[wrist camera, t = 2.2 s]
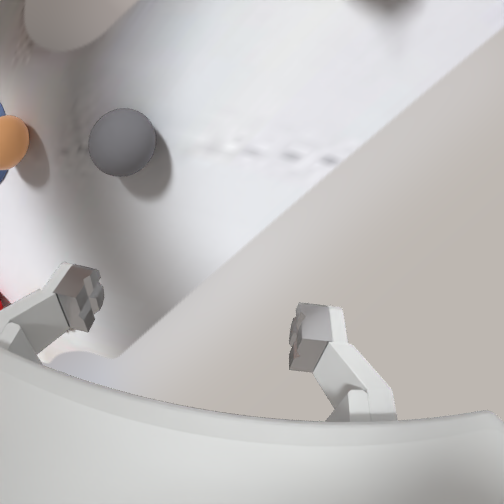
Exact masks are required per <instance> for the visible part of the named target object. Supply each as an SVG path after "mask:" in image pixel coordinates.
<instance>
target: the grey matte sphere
mask: <svg viewBox="0 0 504 504" xmlns="http://www.w3.org/2000/svg"><path fill="white" fill-rule="evenodd" d="M155 145H156V135H155V131H154V128H153V126H152V124H151V122H150V121H149V119H148V118H147V117H146V116H145V115H143V114H142V113H140V112H138V111H136V110H133V109H126V108H124V109H116V110H113V111H111V112H109V113H107V114H105V115H104V116H102V117H101V118H100V119H99V120H98V121H97V122H96V124H95V125H94V127H93V129H92V131H91V133H90V137H89V153H90V156H91V159H92V161H93V162H94V164H95V165H96V166H97V167H98V168H99V169H100V170H101V171H103V172H104V173H106V174H108V175H111V176H118V177H122V176H128V175H132V174H134V173H136V172H138V171H139V170H141V169H142V168H143V167H144V166H145V165H146V164H147V163H148V162H149V160H150V159H151V157H152V155H153V153H154V150H155Z"/></svg>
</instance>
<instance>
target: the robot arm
mask: <svg viewBox="0 0 504 504" xmlns="http://www.w3.org/2000/svg"><path fill="white" fill-rule="evenodd" d="M100 278H101V277H100V273H99V271H98V270H97V269H93V268H89V267H84V266H80V265H76V264H71V263H67V262H64V263H61V264H60V266H59V267H58V268H57V270H56V271H55V272H54V274H53V275H52V276H51V278H50V279H49V281H48V282H47V283H46V285H45V286H44V288H43V289H42V290H41V289H38V290H36V291H34V292H33V293H31V294H29V295H27V296H25V297H23V298H22V299H20V300H18V301H16V302H14V303H13V304H11V305H9V306H7V307H6V308H4V309H2V310H0V504H504V422H503V421H502V420H501V419H500V418H499V417H498V416H497V415H496V414H495V413H493V412H492V411H489V410H483V411H477V412H471V413H464V414H458V415H450V416H442V417H434V418H424V419H412V420H398V421H397V415H396V409H395V403H394V397H393V392H392V389H391V388H390V387H389V385H388V384H387V383H386V382H385V381H384V380H383V379H382V377H381V376H380V375H379V374H378V373H377V372H376V370H375V369H374V368H373V367H372V366H371V365H370V364H369V363H368V361H367V360H366V359H365V358H364V357H363V356H362V354H361V353H360V352H359V351H358V350H357V349H356V348H355V347H354V346H353V344H348V338H347V332H346V326H345V321H344V314H343V309H342V308H341V307H335V306H326V305H317V304H309V303H300V302H299V304H298V306H297V309H296V317H295V318H293V321H292V324H291V329H290V338H289V339H290V340H289V344H290V345H291V347H292V349H291V351H290V354H289V370H296V371H305V372H313V375H314V377H315V378H316V380H317V382H318V383H319V385H320V386H321V388H322V390H323V391H324V393H325V394H326V396H327V398H328V399H329V401H330V402H331V404H332V406H333V407H334V409H335V410H334V411H333V412H332V414H331V415H330V416H329V417H328V418H327V420H326V421H325V422H323V421H301V420H286V419H273V418H263V417H254V416H246V415H238V414H230V413H223V412H217V411H210V410H205V409H199V408H193V407H188V406H183V405H178V404H173V403H168V402H163V401H159V400H155V399H151V398H146V397H142V396H138V395H134V394H130V393H127V392H123V391H119V390H116V389H112V388H109V387H105V386H102V385H98V384H95V383H92V382H89V381H86V380H83V379H79V378H77V377H74V376H71V375H68V374H65V373H63V372H60V371H57V370H54V369H52V368H49V367H46V366H44V365H42V362H41V361H40V359H39V358H38V356H37V354H38V353H40V352H41V351H42V350H43V349H45V348H46V347H47V346H48V345H50V344H51V343H52V342H53V341H55V340H56V339H57V338H59V337H60V336H61V335H62V334H64V333H65V332H66V331H67V330H69V329H70V328H73V329H77V330H81V331H85V332H89V330H90V328H91V326H92V324H93V322H94V320H95V318H94V314H95V313H96V312H98V311H100V309H101V307H102V304H103V300H104V289H103V286H102V285H101V284H100V283H99V282H98V281H99V280H100Z"/></svg>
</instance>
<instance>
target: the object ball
mask: <svg viewBox="0 0 504 504" xmlns="http://www.w3.org/2000/svg"><path fill="white" fill-rule="evenodd" d="M28 146H29V132H28V129H27V126H26V125H25V123H24V122H23V121H22V120H21V119H19V118H18V117H16V116H12V115H6V116H1V117H0V170H7V169H10V168H12V167H14V166H16V165H17V164H18V163H19V162H20V161H21V160H22V159H23V157H24V156H25V154H26V152H27V149H28Z"/></svg>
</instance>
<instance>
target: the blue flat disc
mask: <svg viewBox="0 0 504 504" xmlns="http://www.w3.org/2000/svg"><path fill="white" fill-rule="evenodd" d="M1 116H6V115H5V112H4V110H3V107H2V105H1V103H0V117H1ZM6 172H7V170H0V182H1V181H2V179H3V178H4V176H5V174H6Z"/></svg>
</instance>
